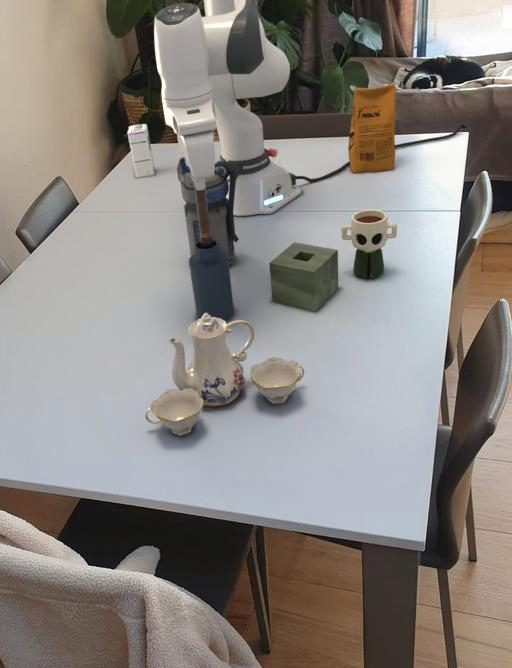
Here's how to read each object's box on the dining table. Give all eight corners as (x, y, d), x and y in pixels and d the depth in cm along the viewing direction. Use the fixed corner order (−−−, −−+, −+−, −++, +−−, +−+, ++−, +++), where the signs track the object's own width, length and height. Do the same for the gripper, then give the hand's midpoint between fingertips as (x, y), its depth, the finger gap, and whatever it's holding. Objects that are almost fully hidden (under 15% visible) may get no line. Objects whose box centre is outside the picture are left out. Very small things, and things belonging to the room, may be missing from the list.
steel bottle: (217, 301, 151) (208, 232, 142) (241, 313, 146) (234, 242, 137) (189, 315, 148) (179, 246, 139) (213, 328, 143) (203, 256, 134)
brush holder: (296, 279, 154) (294, 241, 149) (338, 288, 148) (337, 249, 143) (272, 301, 148) (269, 263, 143) (315, 311, 142) (314, 272, 137)
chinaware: (167, 464, 114) (155, 387, 104) (129, 402, 126) (115, 328, 116) (317, 403, 121) (320, 326, 111) (267, 350, 133) (266, 275, 123)
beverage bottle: (235, 276, 159) (224, 168, 145) (182, 271, 165) (166, 167, 151) (251, 255, 166) (242, 150, 152) (199, 251, 172) (186, 150, 158)
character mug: (341, 281, 150) (341, 225, 143) (342, 265, 156) (342, 210, 149) (395, 280, 148) (398, 222, 140) (394, 264, 153) (396, 207, 146)
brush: (202, 271, 142) (188, 165, 130) (213, 268, 143) (199, 161, 130) (207, 276, 140) (193, 168, 128) (218, 272, 141) (205, 165, 128)
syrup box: (154, 175, 220) (146, 128, 212) (135, 178, 220) (127, 131, 212) (155, 169, 225) (147, 122, 216) (136, 171, 225) (128, 125, 217)
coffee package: (348, 162, 205) (347, 83, 193) (393, 158, 203) (395, 78, 190) (349, 175, 198) (348, 93, 185) (395, 171, 195) (398, 88, 182)
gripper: (164, 98, 132) (174, 170, 140) (179, 129, 115) (190, 209, 123) (197, 92, 132) (206, 164, 140) (217, 122, 115) (226, 202, 123)
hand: (198, 185), depth 131 cm, fingers closed on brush, 2 cm apart
